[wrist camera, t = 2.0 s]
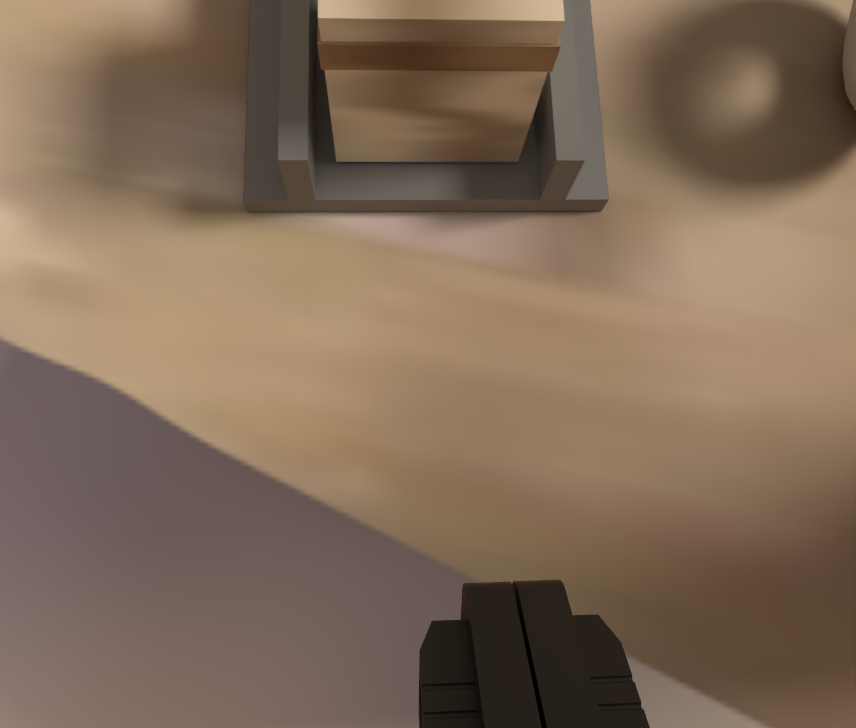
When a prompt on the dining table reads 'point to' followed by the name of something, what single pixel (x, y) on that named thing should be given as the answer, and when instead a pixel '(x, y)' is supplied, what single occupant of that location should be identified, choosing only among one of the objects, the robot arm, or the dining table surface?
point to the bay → (411, 181)
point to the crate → (435, 76)
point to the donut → (850, 57)
